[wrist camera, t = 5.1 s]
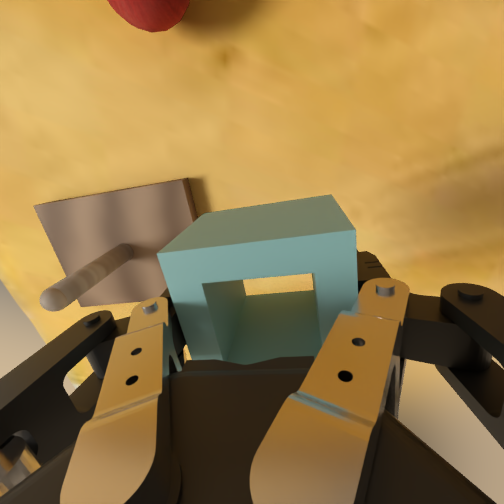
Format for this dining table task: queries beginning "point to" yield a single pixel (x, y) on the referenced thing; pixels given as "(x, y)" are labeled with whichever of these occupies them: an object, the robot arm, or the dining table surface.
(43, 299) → the stand
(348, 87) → the dining table surface
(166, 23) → the onion
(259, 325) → the bead
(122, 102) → the dining table surface
